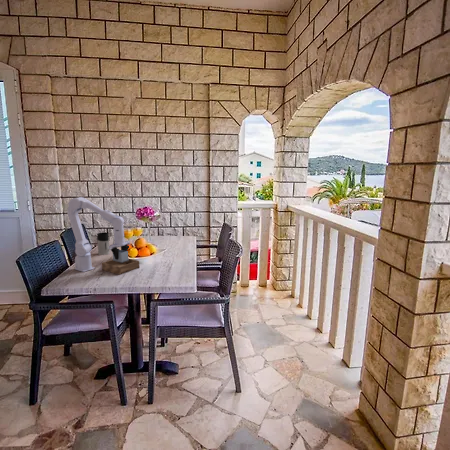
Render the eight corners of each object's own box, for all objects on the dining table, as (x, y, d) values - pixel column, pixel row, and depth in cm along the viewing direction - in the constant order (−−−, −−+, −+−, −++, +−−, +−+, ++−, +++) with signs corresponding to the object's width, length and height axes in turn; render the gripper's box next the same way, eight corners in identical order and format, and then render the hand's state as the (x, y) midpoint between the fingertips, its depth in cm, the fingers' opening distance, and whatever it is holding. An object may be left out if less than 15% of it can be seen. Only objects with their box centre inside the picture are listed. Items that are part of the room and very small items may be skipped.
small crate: (113, 260, 180) (112, 251, 179) (119, 258, 184) (119, 249, 183) (122, 262, 176) (121, 253, 175) (128, 260, 180) (128, 251, 179)
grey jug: (103, 251, 221) (102, 231, 219) (119, 253, 217) (117, 233, 214) (94, 254, 213) (93, 234, 210) (110, 256, 208) (109, 235, 206)
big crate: (102, 270, 179) (101, 262, 178) (122, 263, 191) (121, 257, 190) (119, 274, 170) (119, 267, 170) (139, 267, 183) (139, 260, 182)
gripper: (113, 239, 169) (115, 262, 171) (133, 235, 181) (134, 256, 184) (105, 238, 173) (107, 260, 175) (125, 233, 185) (126, 254, 187)
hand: (120, 258), depth 180 cm, fingers closed on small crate, 5 cm apart
